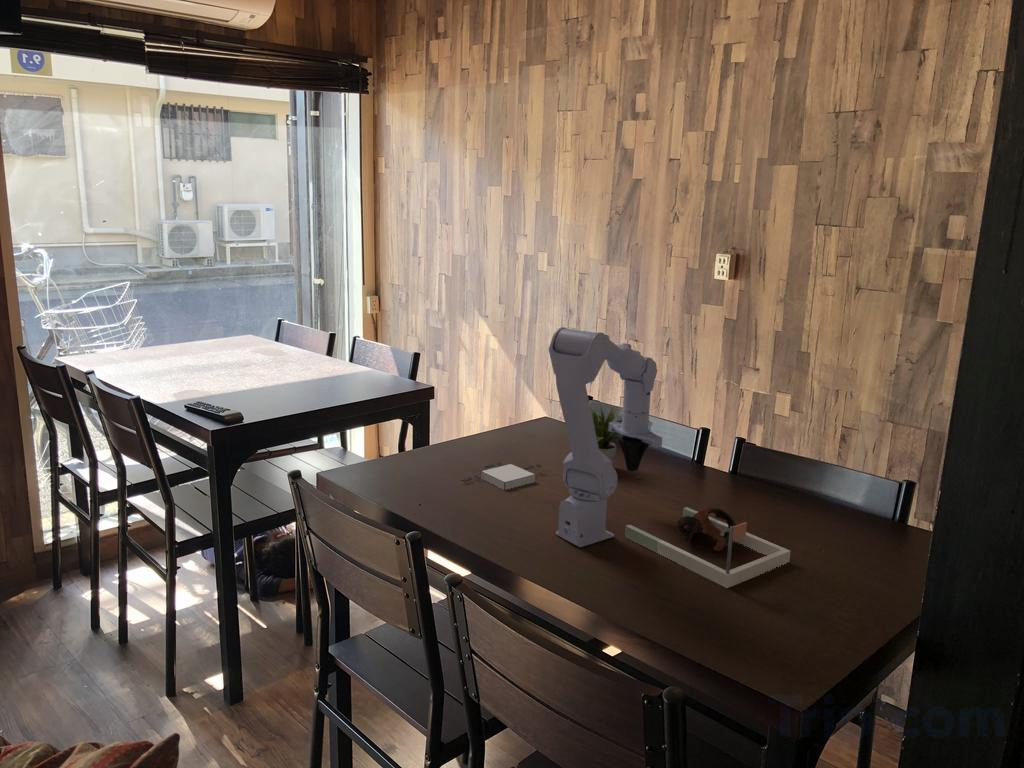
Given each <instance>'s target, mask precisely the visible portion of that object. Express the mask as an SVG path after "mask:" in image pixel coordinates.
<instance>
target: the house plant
mask: <svg viewBox="0 0 1024 768" xmlns="http://www.w3.org/2000/svg"><path fill="white" fill-rule="evenodd" d="M599 407H600V415H597V413H596V412H595V411H594V409H592V408H591V407H590V409H591V414H592V418H593V423H594V428H595V433H596V438H597V443H598V447H599V450H600V451H601V452H602V453H603V454H604V455H606V456H607V457H608V458H609V459H610V460H611V463H612V466H614V465H613V464H614V461H615V456H616V452H617V448H618V446H617V444H616V443H614V441H615V440H616V439H618V438H619V437H621V438H622V437H623V435H622V434H619V433H617V432H614V431H613V432H610V431H609V423H610V422H614V419H615V414H616V412H617V409H615V410H614V406H612V407H611V410H610V411H609V413H608V415H607V416H606V419H605V415H604V412H603V411H604V410H603V408H602V406H599ZM615 422H619V423H622V417H621V418H619V419H618V420H616V421H615ZM614 437H615V438H614Z"/></svg>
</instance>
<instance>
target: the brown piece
mask: <svg viewBox="0 0 1024 768" xmlns="http://www.w3.org/2000/svg"><path fill="white" fill-rule="evenodd" d="M697 512H698V513H696V514H695V515H694V516H693V517H690V516H684V517H683V516H682V517H679V519H678V520H677V522H676V529H677V531H678V533H679V534H680V535H681V536H683V537H685V538H684V539H685V540H687V541H688V542H691V541H692V538H693V536H694V534H695V533H698V532H702V533H703V531H704V532H706V533H708V534H709V535H710V536H711V537H712V538H713V539H715V540H716V543H715V544H714V546H713V547H712V548H713V550H714V551H715V552H717V551H719V552H721V551H722V550H723V549H724V548H728V545H729V534H730V532H725V534H724V536H721V535H720V533H721V530H720V529H718V528H717V527H715V526H714V525H713V524H712V523H711V521H710V520H709V517H710V516H709V515H710V514H715V516H714V517H715V518H716V519H721V520H724V521H726V524H728V528H730V526H736V525H737V524H736V521H735V520H734V518H733V517H732V516H731V515H730V514H729V513H728V512H727V511H725V510H723V509H721V508H718V507H715V506H714V507H713V506H712V507H711V506H709V507H706V509H705V510H699V511H697ZM708 516H709V517H708ZM733 540H734V539H733ZM733 540H732V542H734V541H733ZM720 550H721V551H720Z"/></svg>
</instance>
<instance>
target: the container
mask: <svg viewBox="0 0 1024 768" xmlns="http://www.w3.org/2000/svg"><path fill="white" fill-rule="evenodd" d="M495 465H498V466H496V467H495ZM535 467H537V468H541V467H542V465H541V464H540V463H537V464H535V466H534V465H529V466H525V467H523V468H522V467H520V466H517V465H516V464H512V463H508V464H505V465H503V463H501V462H496V464H492V463H491V464H488V465H483V468H485V470H481V471H480V477H479V476H478V475H474V478H476V479H481V480H482V479H483V480H482V481H484V480H485V481H484V482H486V481H487V482H486V483H488V482H489V483H488V484H490V483H491V484H490V485H492V484H494V485H495V486H494V485H493V486H494V487H496V486H497V487H496V488H499V489H501V490H503V491H507V489H508V490H512V489H514V487H516V488H519V487H523V486H526V485H525V484H527V485H530V484H529V483H531V484H534V483H536V475H537V474H535V473H533V472H531V471H528V470H531V469H534V468H535ZM474 478H473V477H471V476H470V477H466V478H463V479H461V480H460V481H462V482H465V483H466V482H468V481H472V480H473V479H474ZM522 485H523V486H522ZM518 486H519V487H518ZM511 488H512V489H511Z"/></svg>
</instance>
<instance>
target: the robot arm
mask: <svg viewBox="0 0 1024 768" xmlns="http://www.w3.org/2000/svg"><path fill="white" fill-rule="evenodd" d="M548 354H549V357H550V362H551V367H552V370H553V373H554V375H555V383H556V390H557V395H558V399H559V402H560V407H561V411H562V416H563V420H564V425H565V428H566V434H567V438H568V443H569V447H570V451H571V452H570V453H568V454H567V456H566V457H565V458H564V460H563V462H562V466H563V475H562V478H563V479H562V480H563V483H564V485H565V487H566V488H567V489H568V494H570V495H569V496H568V497H567V498H566V499H564V500H562V501H560V504H559V507H558V526H557V531H555V535H557V536H558V537H560V538H562V539H564V540H566V541H567V542H569V543H571V544H572V545H574V546H577V547H579V548H583V547H586V546H590V545H593V544H596V543H598V542H601V541H606V540H609V539H612V538H614V537H615V534H614V533H613V532H610V531H608V530H607V529H606V527H607V526H606V524H607V505H608V504H607V503H608V498H609V497H611V496H612V495H613V494H614V492H615V490H616V488H617V485H618V474H617V471H616V469H615V468H614V467H613V466H614V465H613V466H612V463H611V460H610V459H609V458H608V457H607V456H606V455H604V454H603V453H602V452H601V451H600V450H599V447H598V443H597V438H596V433H595V428H594V427H595V426H594V422H593V417H592V413H591V409H592V408H591V404H590V399H589V395H588V391H587V386H586V385H587V384H590V383H592V382H594V381H595V380H596V378H597V376H598V375H599V373H600V371H601V369H602V367H603V365H604V363H605V361H607V365H608V367H609V369H610V370H612V371H614V372H615V373H617V374H619V378H620V380H621V381H624V382H623V400H622V416H621V418H622V422H621V423H619V422H616V421H612V422H610V423H609V430H608V431H610V432H612V433H614V432H617V433H619V435H623V437H621V438H617V439H618V441H617V442H618V444H619V446H620V448H621V451H622V453H623V456H624V461H625V465H626V470H627V471H629V472H630V473H631V472H635V471H638V470H639V467H640V465H641V464H640V463H641V461H642V458H643V456H644V454H645V453H646V451H647V449H648V447H649V446H652V448H661V447H662V446H663V437H662V436H659V435H657V434H656V433H654V432H653V431H651V427H649V422H650V421H649V420H650V410H651V409H650V408H651V392H652V391H653V390H654V386H655V380H656V378H657V373H658V368H657V367H658V366H657V362H656V361H655V360H654V359H653V358H651V357H648V356H643V355H642V353H641V352H640V351H638V350H634V349H632V344H630V343H624V342H623V343H622V344H616V343H614V342H613V341H612V340H611V339H610V336H609V334H608V335H607V334H605V333H604V332H601V331H600V332H594V331H593V332H592V331H586V330H581V329H579V330H578V329H572V328H567V327H564V326H563V327H559V328H557V329H556V330H555V331H554V333H553V335H552V337H551V340H550V343H549V346H548ZM590 408H591V409H590Z"/></svg>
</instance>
